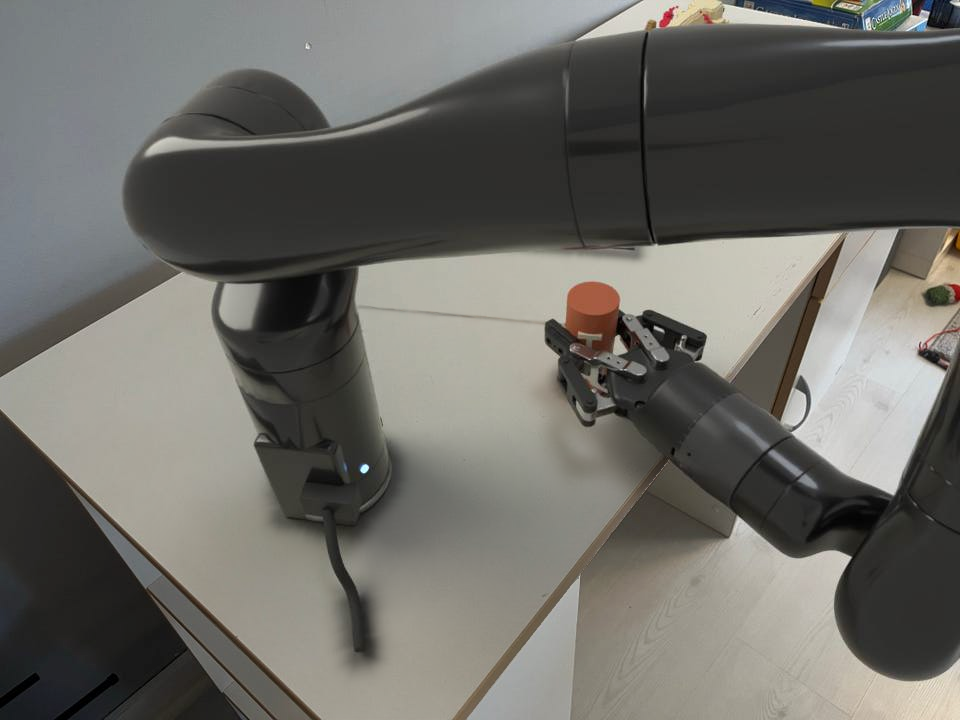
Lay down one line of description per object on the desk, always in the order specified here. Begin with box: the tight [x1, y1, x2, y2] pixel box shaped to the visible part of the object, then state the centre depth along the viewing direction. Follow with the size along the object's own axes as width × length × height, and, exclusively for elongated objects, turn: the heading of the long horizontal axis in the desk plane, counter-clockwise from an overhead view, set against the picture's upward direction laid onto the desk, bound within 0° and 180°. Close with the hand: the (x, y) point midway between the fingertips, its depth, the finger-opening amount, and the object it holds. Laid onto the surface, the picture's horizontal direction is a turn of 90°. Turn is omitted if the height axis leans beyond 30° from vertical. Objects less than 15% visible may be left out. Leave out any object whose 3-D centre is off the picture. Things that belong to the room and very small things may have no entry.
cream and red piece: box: [644, 0, 730, 31], centre depth 116 cm, size 10×9×25 cm
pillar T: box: [564, 281, 621, 395], centre depth 64 cm, size 4×4×10 cm
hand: (569, 316), depth 64 cm, fingers closed on pillar T, 4 cm apart
